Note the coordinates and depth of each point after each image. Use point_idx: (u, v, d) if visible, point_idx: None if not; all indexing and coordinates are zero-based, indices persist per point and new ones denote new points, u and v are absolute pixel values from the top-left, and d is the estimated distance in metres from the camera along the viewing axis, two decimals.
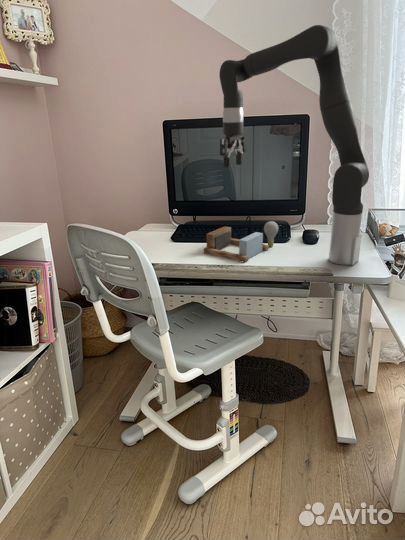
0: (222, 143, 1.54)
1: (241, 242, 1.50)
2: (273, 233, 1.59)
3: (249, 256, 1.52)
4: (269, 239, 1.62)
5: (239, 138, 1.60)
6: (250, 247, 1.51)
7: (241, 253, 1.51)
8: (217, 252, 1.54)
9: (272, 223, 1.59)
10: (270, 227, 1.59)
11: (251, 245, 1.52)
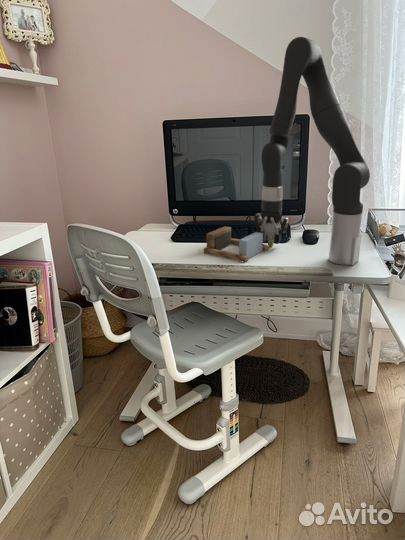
0: (286, 222, 1.56)
1: (241, 242, 1.50)
2: (273, 233, 1.59)
3: (249, 256, 1.52)
4: (269, 239, 1.62)
5: None
6: (250, 247, 1.51)
7: (241, 253, 1.51)
8: (217, 252, 1.54)
9: None
10: (270, 227, 1.59)
11: (251, 245, 1.52)
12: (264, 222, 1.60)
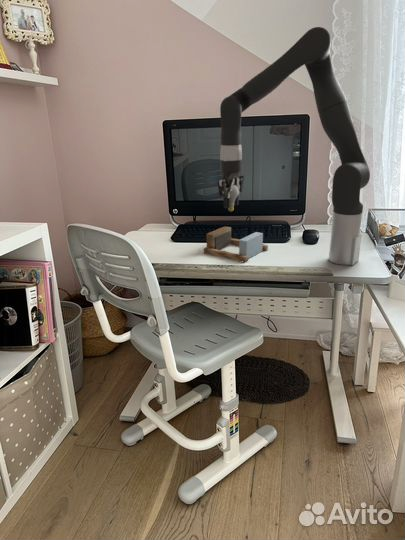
0: None
1: (241, 242, 1.50)
2: None
3: (249, 256, 1.52)
4: (233, 203, 1.54)
5: None
6: (250, 247, 1.51)
7: (241, 253, 1.51)
8: (217, 252, 1.54)
9: None
10: (237, 188, 1.52)
11: (251, 245, 1.52)
12: (232, 186, 1.49)
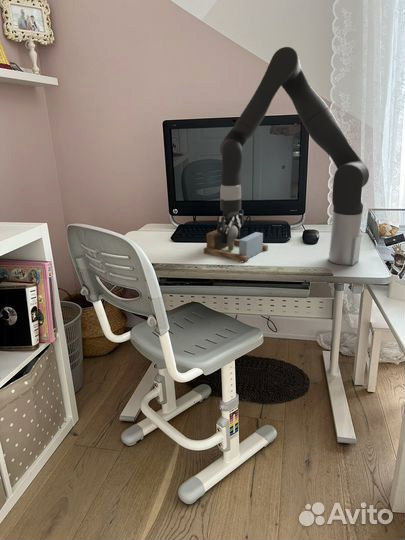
0: None
1: (241, 242, 1.50)
2: None
3: (249, 256, 1.52)
4: (233, 242, 1.59)
5: None
6: (250, 247, 1.51)
7: (241, 253, 1.51)
8: (217, 252, 1.54)
9: None
10: (237, 229, 1.57)
11: (251, 245, 1.52)
12: (231, 223, 1.54)
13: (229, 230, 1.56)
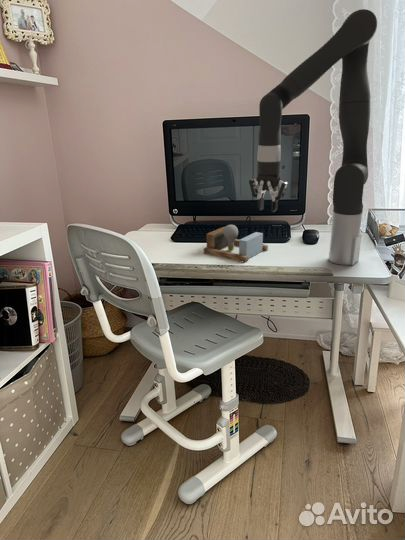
0: (285, 187, 1.39)
1: (241, 242, 1.50)
2: None
3: (249, 256, 1.52)
4: (233, 242, 1.59)
5: None
6: (250, 247, 1.51)
7: (241, 253, 1.51)
8: (217, 252, 1.54)
9: None
10: (237, 229, 1.57)
11: (251, 245, 1.52)
12: (260, 187, 1.43)
13: (229, 230, 1.56)
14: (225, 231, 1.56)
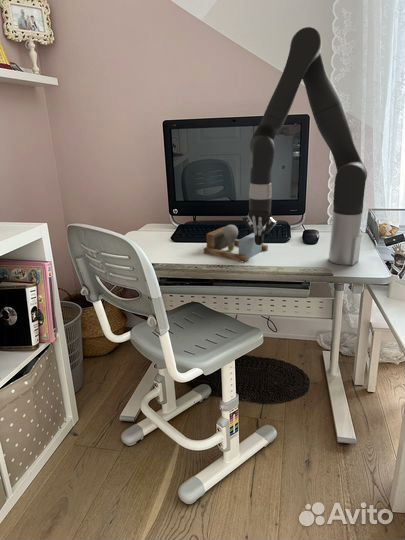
0: (273, 226, 1.46)
1: (240, 242, 1.50)
2: None
3: (248, 256, 1.52)
4: (233, 242, 1.59)
5: None
6: (249, 247, 1.51)
7: (240, 253, 1.51)
8: (217, 252, 1.54)
9: None
10: (237, 229, 1.57)
11: (251, 245, 1.52)
12: (254, 223, 1.49)
13: (229, 230, 1.56)
14: (225, 231, 1.56)
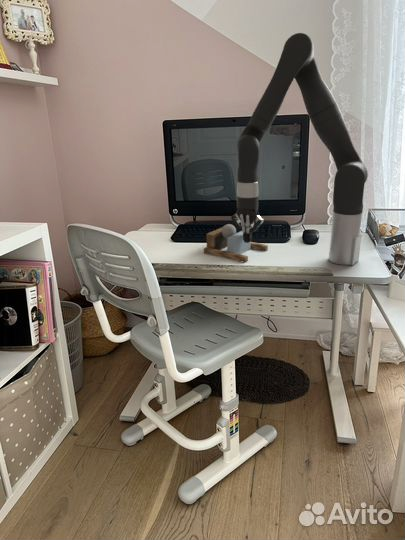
0: (260, 223, 1.49)
1: (229, 240, 1.52)
2: None
3: (237, 253, 1.55)
4: None
5: None
6: (238, 244, 1.54)
7: (229, 250, 1.54)
8: (217, 252, 1.54)
9: None
10: (235, 228, 1.58)
11: (239, 242, 1.54)
12: (242, 221, 1.51)
13: (227, 229, 1.56)
14: (223, 231, 1.57)
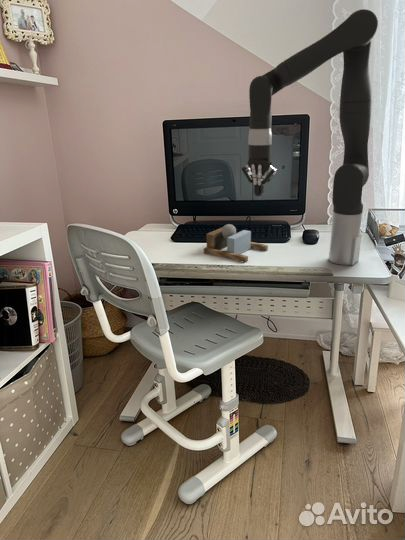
0: (273, 174, 1.40)
1: (229, 240, 1.52)
2: None
3: (237, 253, 1.55)
4: None
5: None
6: (238, 244, 1.54)
7: (229, 250, 1.54)
8: (217, 252, 1.54)
9: None
10: (235, 228, 1.58)
11: (239, 242, 1.54)
12: (253, 172, 1.43)
13: (227, 229, 1.56)
14: (223, 231, 1.57)
